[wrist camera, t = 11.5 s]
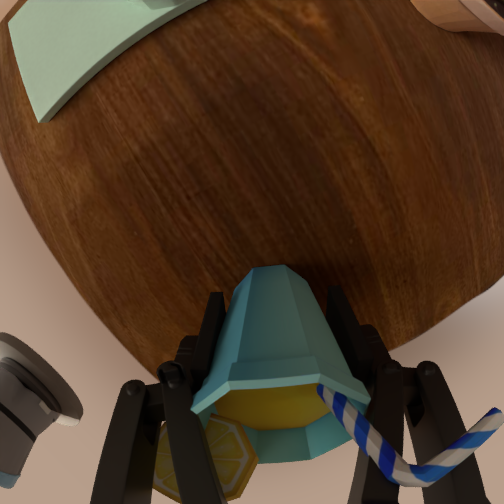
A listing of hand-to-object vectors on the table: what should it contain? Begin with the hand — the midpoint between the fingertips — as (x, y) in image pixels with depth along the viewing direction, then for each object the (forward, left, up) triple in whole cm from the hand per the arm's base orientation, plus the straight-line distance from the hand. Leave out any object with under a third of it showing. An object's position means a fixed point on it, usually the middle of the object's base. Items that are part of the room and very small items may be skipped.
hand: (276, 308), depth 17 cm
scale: (-11, +24, -2) cm, 27 cm away
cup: (+1, 0, -2) cm, 2 cm away
